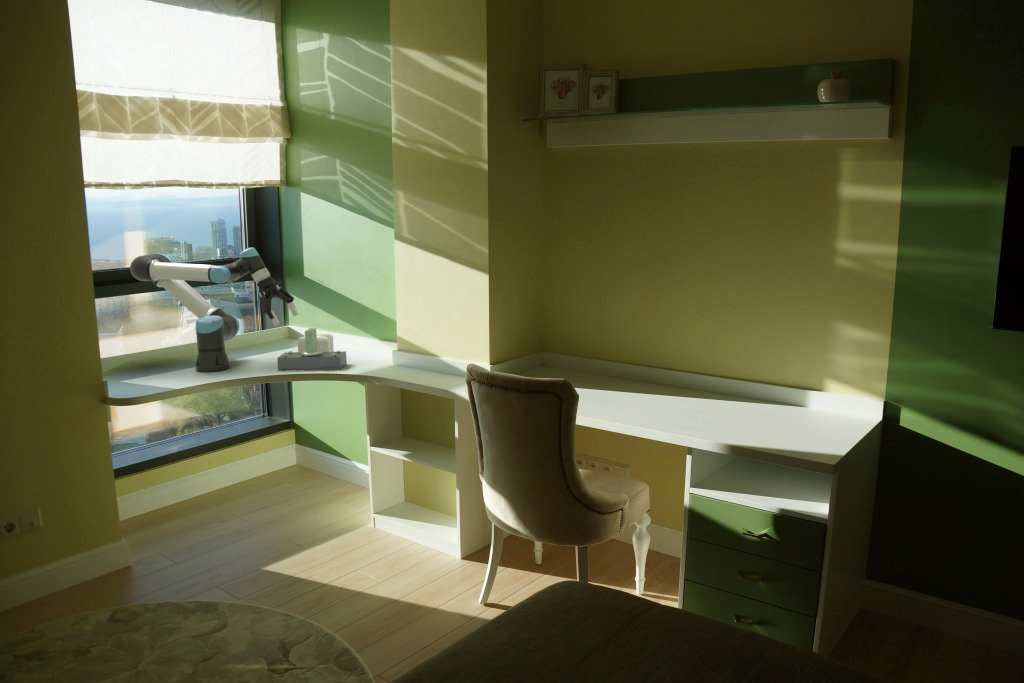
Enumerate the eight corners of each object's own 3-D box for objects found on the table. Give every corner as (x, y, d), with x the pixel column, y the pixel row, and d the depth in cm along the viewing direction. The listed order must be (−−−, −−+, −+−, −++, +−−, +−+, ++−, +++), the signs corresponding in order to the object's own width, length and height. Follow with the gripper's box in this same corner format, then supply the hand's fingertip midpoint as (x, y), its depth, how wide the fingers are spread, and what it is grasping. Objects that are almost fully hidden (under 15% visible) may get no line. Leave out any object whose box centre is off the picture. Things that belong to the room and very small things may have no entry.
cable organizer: (336, 357, 399) (334, 333, 397) (328, 361, 388) (327, 337, 386) (305, 357, 401) (304, 333, 398) (297, 361, 390) (296, 337, 388)
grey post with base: (299, 368, 371) (296, 331, 368) (305, 363, 380) (302, 328, 377) (320, 367, 371) (318, 331, 368) (326, 363, 380) (323, 327, 377)
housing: (278, 370, 370) (277, 355, 369) (286, 365, 382) (285, 350, 381) (340, 369, 369) (339, 354, 368) (346, 364, 381) (345, 349, 380)
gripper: (250, 283, 369) (274, 325, 372) (286, 269, 391) (308, 308, 393) (240, 290, 373) (264, 331, 376) (275, 275, 394) (298, 314, 397)
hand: (287, 320), depth 384 cm, fingers open, 13 cm apart
